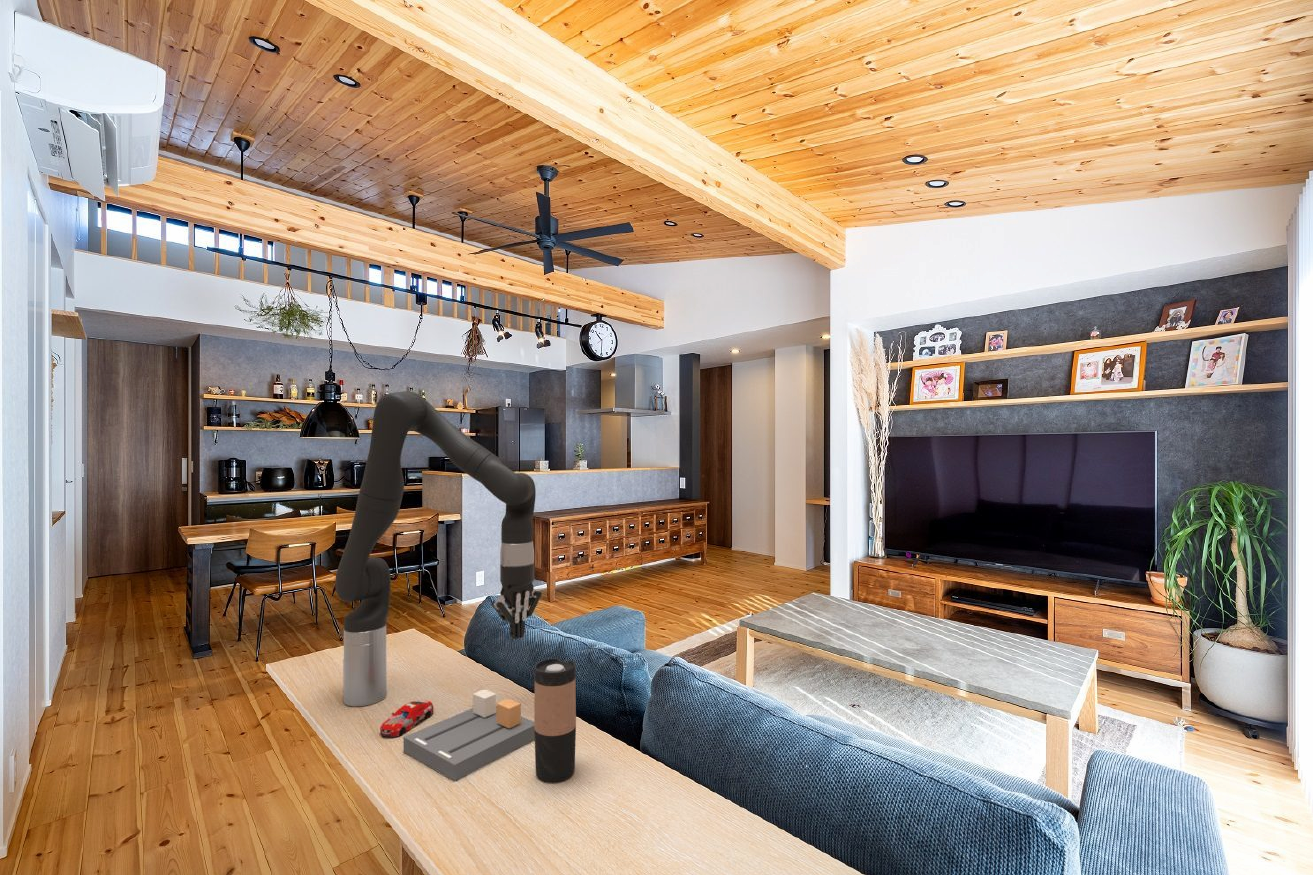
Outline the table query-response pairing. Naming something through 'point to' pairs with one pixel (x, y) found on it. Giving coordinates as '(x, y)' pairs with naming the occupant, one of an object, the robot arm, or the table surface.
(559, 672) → the travel mug
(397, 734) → the race car
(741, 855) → the table surface
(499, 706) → the fader
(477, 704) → the fader
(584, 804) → the table surface
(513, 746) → the console
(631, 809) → the table surface
